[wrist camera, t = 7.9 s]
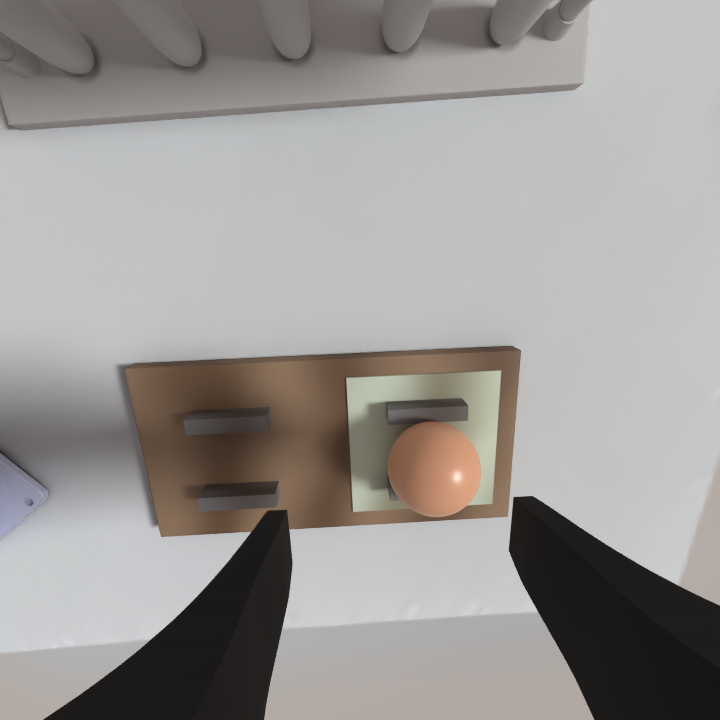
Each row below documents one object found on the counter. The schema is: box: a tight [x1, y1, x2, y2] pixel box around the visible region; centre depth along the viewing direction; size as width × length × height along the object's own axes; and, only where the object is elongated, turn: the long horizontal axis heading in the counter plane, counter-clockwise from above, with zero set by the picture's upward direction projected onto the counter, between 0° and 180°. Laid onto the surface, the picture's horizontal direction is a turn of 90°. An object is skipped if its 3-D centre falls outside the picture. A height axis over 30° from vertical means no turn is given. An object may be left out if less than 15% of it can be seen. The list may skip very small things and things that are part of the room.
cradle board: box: [125, 346, 521, 537], centre depth 20 cm, size 20×10×2 cm, turn 92°
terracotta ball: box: [388, 422, 481, 517], centre depth 18 cm, size 4×4×4 cm
